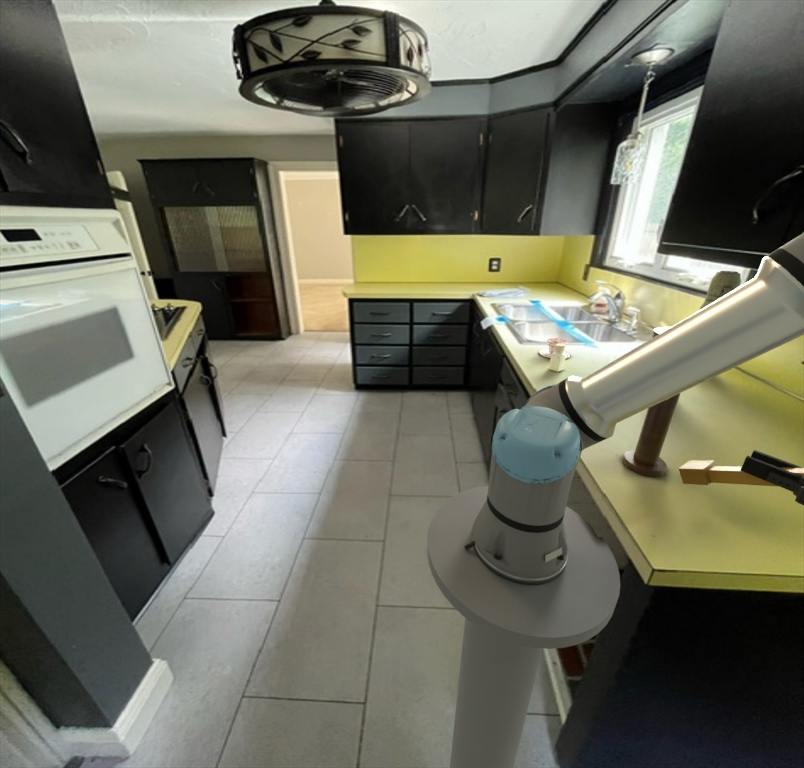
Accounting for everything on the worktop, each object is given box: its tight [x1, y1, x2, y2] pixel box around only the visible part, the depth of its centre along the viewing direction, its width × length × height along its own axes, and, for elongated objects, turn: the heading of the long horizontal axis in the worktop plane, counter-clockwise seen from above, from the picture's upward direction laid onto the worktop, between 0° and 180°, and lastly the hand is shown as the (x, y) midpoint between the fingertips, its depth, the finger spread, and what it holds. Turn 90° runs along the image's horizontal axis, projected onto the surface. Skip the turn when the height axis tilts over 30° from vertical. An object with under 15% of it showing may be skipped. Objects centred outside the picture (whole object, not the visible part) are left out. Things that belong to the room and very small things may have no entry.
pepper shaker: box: [548, 344, 567, 372], centre depth 132 cm, size 4×4×10 cm
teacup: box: [538, 337, 571, 360], centre depth 148 cm, size 12×12×6 cm
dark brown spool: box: [622, 326, 681, 478], centre depth 74 cm, size 10×10×30 cm
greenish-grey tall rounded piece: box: [699, 270, 742, 310], centre depth 126 cm, size 9×12×35 cm
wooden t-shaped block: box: [678, 459, 804, 488], centre depth 62 cm, size 5×18×3 cm, turn 32°
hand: (747, 460), depth 62 cm, fingers closed on wooden t-shaped block, 2 cm apart
